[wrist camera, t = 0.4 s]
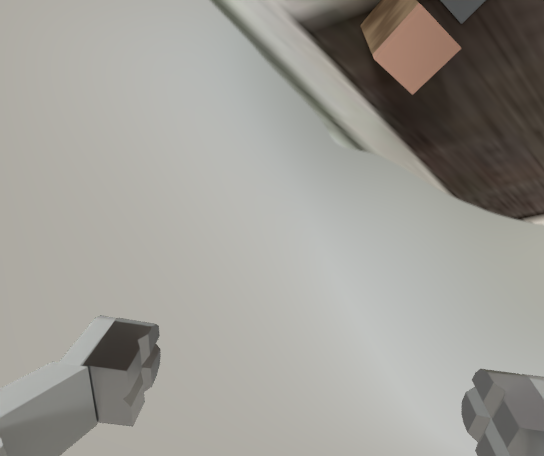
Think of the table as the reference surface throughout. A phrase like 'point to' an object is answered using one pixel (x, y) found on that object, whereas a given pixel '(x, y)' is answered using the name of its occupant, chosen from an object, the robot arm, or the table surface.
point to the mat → (462, 8)
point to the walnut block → (407, 41)
